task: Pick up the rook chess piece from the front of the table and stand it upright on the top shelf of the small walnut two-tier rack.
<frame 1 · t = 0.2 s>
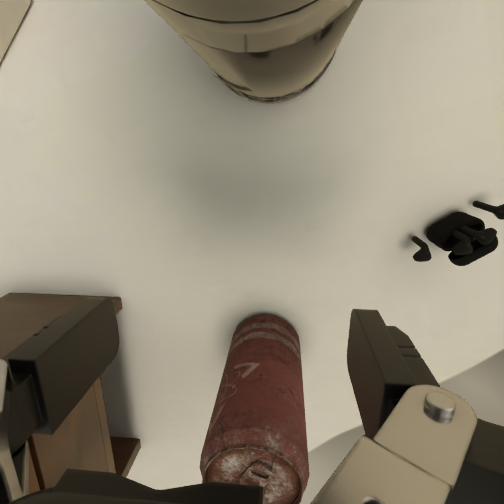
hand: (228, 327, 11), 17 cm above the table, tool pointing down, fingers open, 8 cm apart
wireless earbuds: (444, 229, 27), on the table
shelf: (79, 375, 34), on the table
can: (266, 341, 31), on the table
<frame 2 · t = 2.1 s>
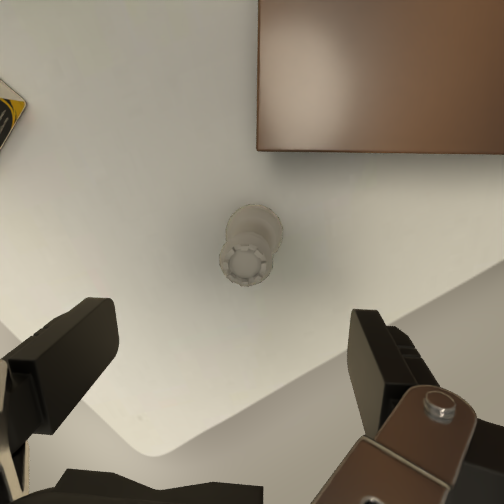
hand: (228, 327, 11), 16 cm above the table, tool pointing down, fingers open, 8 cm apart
rook chess piece: (255, 230, 27), on the table
shelf: (407, 60, 22), on the table
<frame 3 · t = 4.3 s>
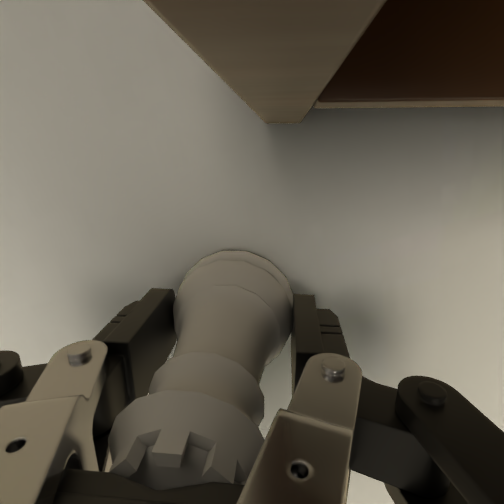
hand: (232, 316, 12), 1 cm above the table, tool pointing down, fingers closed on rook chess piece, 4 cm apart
rook chess piece: (238, 297, 13), on the table, touching gripper
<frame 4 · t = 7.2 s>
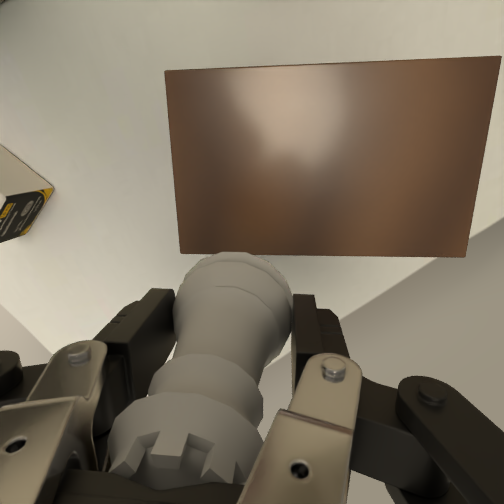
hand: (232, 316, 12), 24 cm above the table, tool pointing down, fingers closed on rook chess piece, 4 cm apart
medicine bottle: (15, 190, 37), on the table
rook chess piece: (237, 298, 13), point 23 cm above the table, touching gripper
shelf: (307, 158, 33), on the table
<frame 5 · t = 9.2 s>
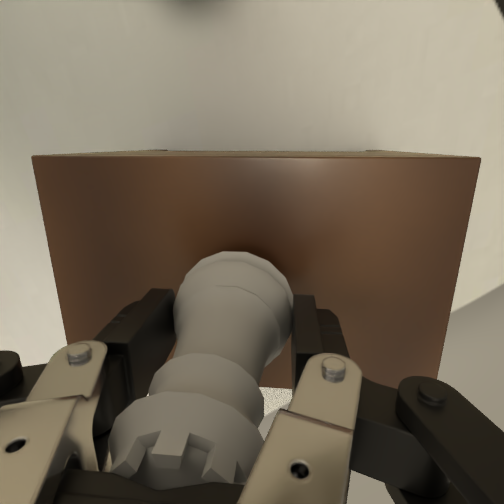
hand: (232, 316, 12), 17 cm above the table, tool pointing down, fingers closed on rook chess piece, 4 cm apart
rook chess piece: (238, 298, 13), point 16 cm above the table, touching gripper
shelf: (263, 218, 28), on the table
when the fingers open (15 cm above the table, at t = 10.2 s): rook chess piece stays where it is, resting on shelf.
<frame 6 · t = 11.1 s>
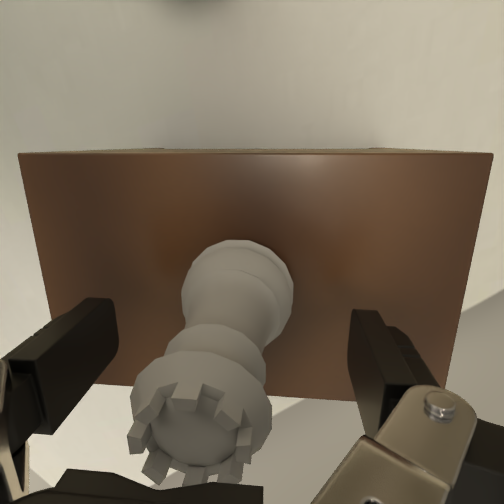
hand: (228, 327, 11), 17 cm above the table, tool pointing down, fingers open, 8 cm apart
rook chess piece: (241, 284, 14), point 14 cm above the table, touching shelf
shelf: (263, 218, 28), on the table
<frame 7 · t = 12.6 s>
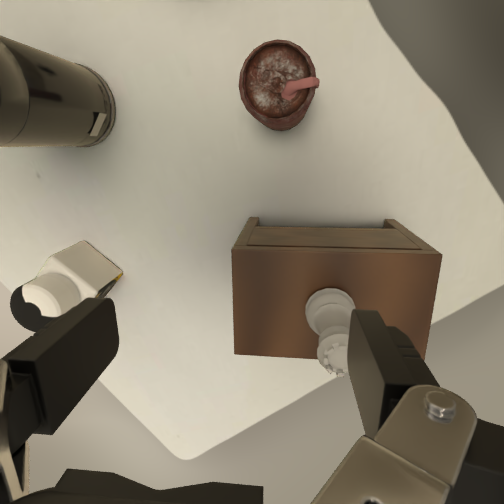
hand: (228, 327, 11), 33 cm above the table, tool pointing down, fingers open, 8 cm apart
medicine bottle: (92, 272, 49), on the table
rook chess piece: (329, 307, 31), point 14 cm above the table, touching shelf
shelf: (318, 259, 44), on the table
can: (282, 102, 39), on the table
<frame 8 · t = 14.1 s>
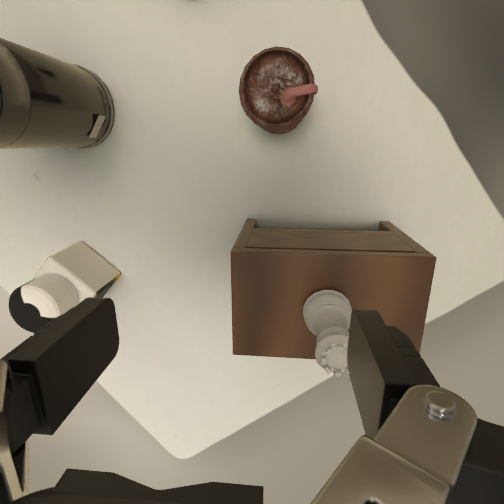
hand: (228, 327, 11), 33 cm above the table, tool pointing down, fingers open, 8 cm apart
medicine bottle: (90, 272, 49), on the table
rook chess piece: (326, 308, 32), point 14 cm above the table, touching shelf
shelf: (314, 260, 45), on the table
can: (280, 106, 40), on the table
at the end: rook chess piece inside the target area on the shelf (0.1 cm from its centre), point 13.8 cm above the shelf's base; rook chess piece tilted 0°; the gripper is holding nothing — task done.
